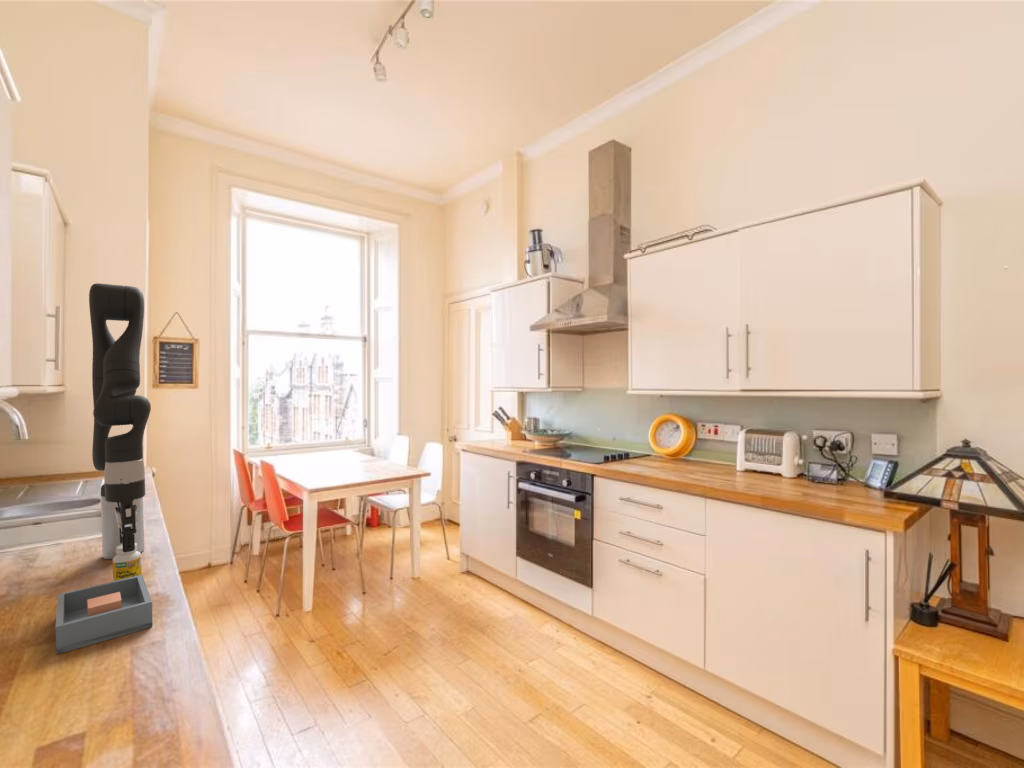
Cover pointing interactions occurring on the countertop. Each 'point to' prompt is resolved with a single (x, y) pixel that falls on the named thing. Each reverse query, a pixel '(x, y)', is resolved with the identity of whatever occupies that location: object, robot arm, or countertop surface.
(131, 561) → the supplement bottle
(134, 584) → the tote
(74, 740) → the countertop surface
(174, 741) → the countertop surface
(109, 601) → the terracotta cube
